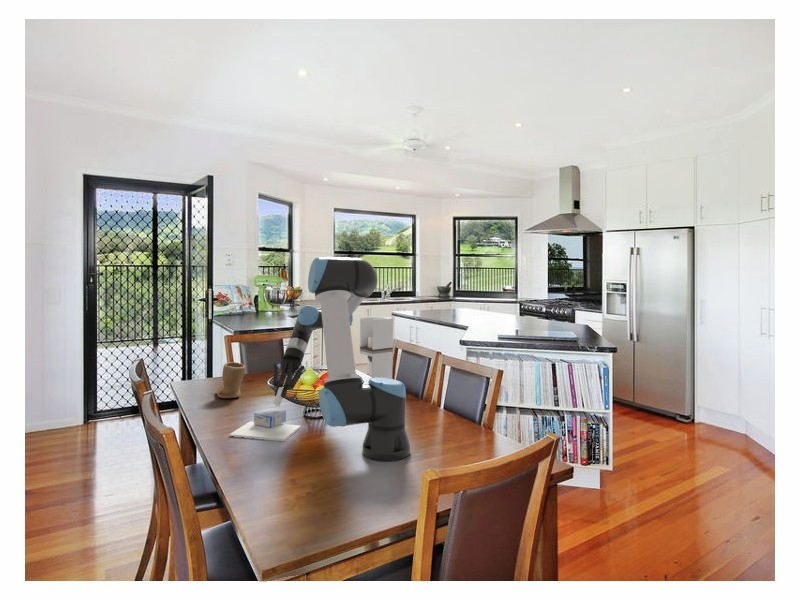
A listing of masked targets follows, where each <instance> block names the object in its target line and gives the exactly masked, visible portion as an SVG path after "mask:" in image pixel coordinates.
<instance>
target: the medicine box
mask: <svg viewBox="0 0 800 600" xmlns="http://www.w3.org/2000/svg"><path fill="white" fill-rule="evenodd" d="M253 422H254V424H255V425H259V426H264V427H268V428H272V427H274V426H277V425H279V424H285V423H286V422H287V410H285V409H280V408H273V407H267V408H264V409H261V410H259V411H255V412H254V414H253Z"/></svg>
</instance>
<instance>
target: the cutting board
mask: <svg viewBox="0 0 800 600" xmlns="http://www.w3.org/2000/svg"><path fill="white" fill-rule="evenodd" d="M301 428H302V426H301V425H299V424H297V425H296V424H287V423H282V424H279V425H277V426H274V427H272V428H268V427H264V426H259V425H255V424H254V421H249V422H247V423H245V424H244V425H242V426H241V427H239V428H237V429H236V430H234V431H232V432H231V433H229V437H230V436H234V437H233V438H241V437H244V438H243V439H252V438H254V440H263V439H264V440H265V441H274V442H286V441H287V440H288V439H289V438H290V437H291V436H293V435H294V434H296V432H298V431H299V430H300V429H301Z"/></svg>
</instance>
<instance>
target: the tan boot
mask: <svg viewBox="0 0 800 600" xmlns="http://www.w3.org/2000/svg"><path fill="white" fill-rule="evenodd" d="M245 373H246V365H245V364H243V363H239V362H235V361H228V362H226V363H225V364H224V365H223V367H222V375H221V376H222V383H223V384H222V385H219V386H217V388H216V394H217V396H218V397H219V398H221V399H233V398H239V397H240V396H241V395H242V392H241V389H240V387H241V383H242V382H243V380H244V377H245Z"/></svg>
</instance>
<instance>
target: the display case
mask: <svg viewBox="0 0 800 600" xmlns="http://www.w3.org/2000/svg"><path fill="white" fill-rule="evenodd" d="M359 323H360V325H359V355H364V356H367V365H366V366H367V368H366V369H367V372H366V373H367V375H368V376H369V377H370V378H375V377H379V378H389V379H393V365H394V363H393V360H394V358H393V357H394V355H393V354H394V349H393V348H394V318H393V317H388V316H382V315H381V316H376V315H375V316H363V317H362V316H361V317H359Z"/></svg>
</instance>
